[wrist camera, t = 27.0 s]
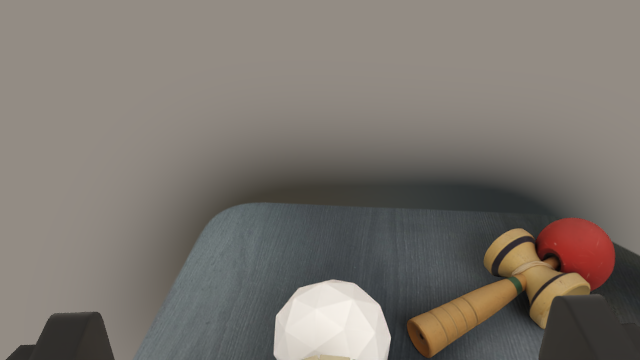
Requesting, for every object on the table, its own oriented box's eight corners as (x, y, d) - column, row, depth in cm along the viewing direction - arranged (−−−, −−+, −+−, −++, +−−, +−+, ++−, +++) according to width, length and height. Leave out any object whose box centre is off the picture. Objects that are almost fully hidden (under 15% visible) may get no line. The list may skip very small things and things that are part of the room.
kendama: (461, 410, 42) (644, 291, 47) (448, 339, 39) (644, 222, 45) (397, 349, 48) (565, 251, 54) (382, 285, 45) (561, 189, 51)
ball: (338, 379, 46) (379, 281, 46) (380, 438, 38) (429, 321, 38) (245, 353, 43) (288, 249, 43) (270, 411, 36) (322, 286, 36)
